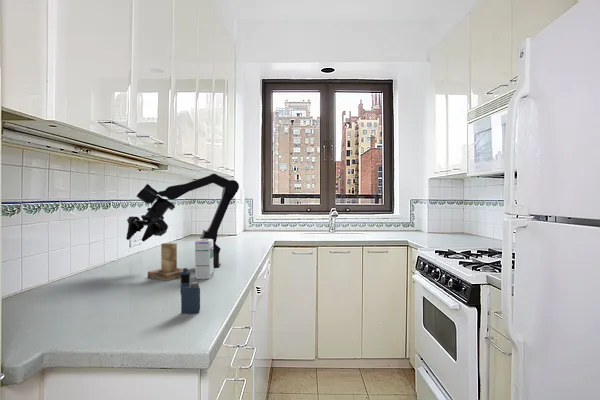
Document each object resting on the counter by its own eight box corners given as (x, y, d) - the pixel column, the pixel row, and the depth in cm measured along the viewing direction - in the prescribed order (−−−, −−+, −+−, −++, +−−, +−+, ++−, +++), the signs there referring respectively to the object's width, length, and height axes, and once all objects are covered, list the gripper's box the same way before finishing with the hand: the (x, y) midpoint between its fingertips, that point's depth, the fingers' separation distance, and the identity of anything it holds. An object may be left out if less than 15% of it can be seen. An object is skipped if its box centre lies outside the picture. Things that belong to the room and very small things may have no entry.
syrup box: (210, 279, 149) (210, 240, 149) (194, 278, 149) (194, 240, 149) (213, 275, 155) (214, 238, 155) (198, 275, 155) (198, 238, 155)
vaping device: (182, 311, 109) (182, 267, 109) (201, 311, 109) (201, 267, 109) (179, 313, 107) (179, 269, 107) (198, 314, 107) (198, 269, 106)
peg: (169, 273, 157) (169, 242, 156) (176, 274, 155) (176, 243, 154) (161, 274, 153) (161, 243, 153) (168, 276, 151) (168, 244, 151)
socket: (170, 272, 161) (170, 267, 161) (190, 275, 156) (190, 269, 156) (147, 277, 152) (147, 271, 152) (167, 280, 146) (167, 274, 146)
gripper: (184, 224, 166) (162, 254, 156) (153, 222, 175) (131, 250, 166) (169, 206, 159) (146, 236, 149) (138, 205, 168) (114, 233, 159)
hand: (134, 240), depth 156 cm, fingers open, 9 cm apart
